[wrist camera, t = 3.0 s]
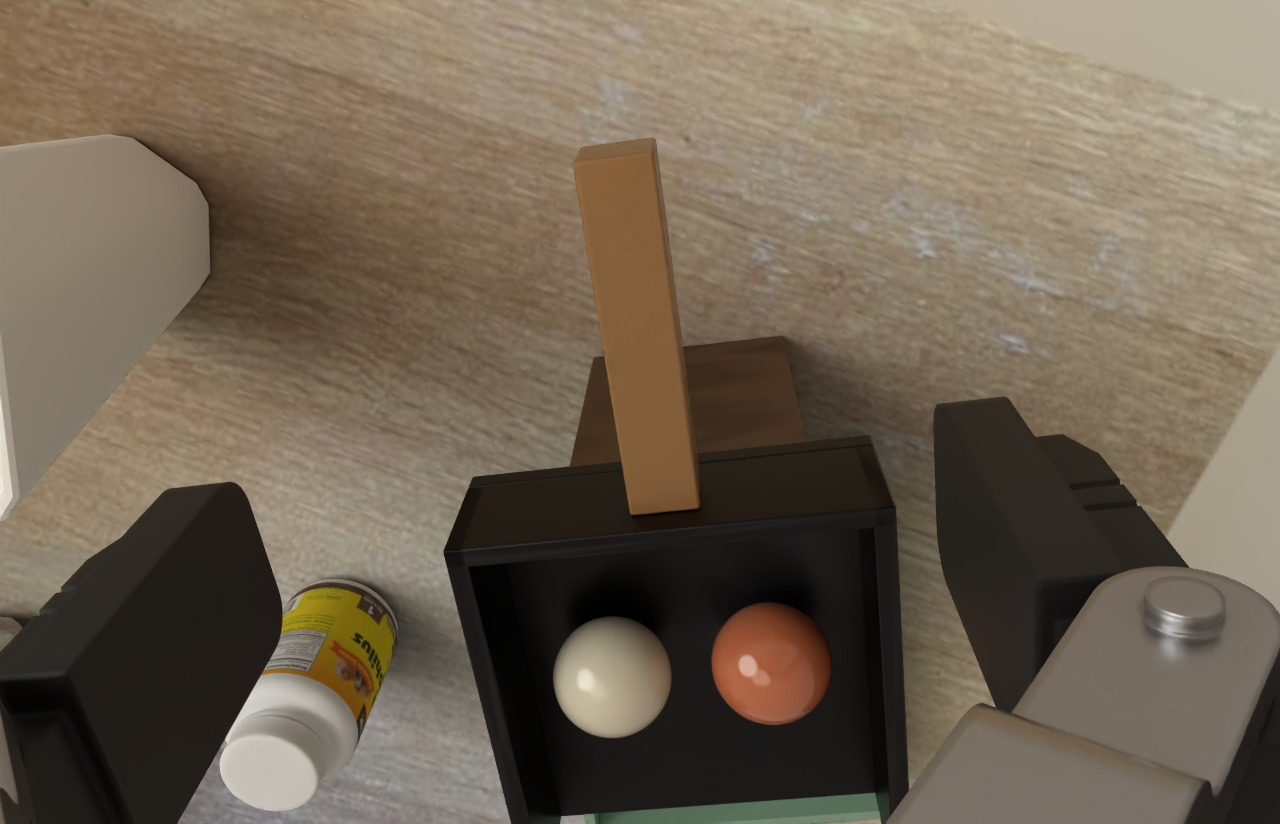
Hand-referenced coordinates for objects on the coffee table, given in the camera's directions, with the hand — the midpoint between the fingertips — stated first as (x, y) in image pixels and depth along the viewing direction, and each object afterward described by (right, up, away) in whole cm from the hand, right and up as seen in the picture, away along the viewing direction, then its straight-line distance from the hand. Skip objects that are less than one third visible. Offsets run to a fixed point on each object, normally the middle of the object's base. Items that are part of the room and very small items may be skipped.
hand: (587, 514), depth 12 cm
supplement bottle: (-14, -9, +39) cm, 42 cm away
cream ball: (0, -5, +14) cm, 15 cm away
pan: (+2, -1, +15) cm, 15 cm away
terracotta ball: (+4, -5, +14) cm, 15 cm away
